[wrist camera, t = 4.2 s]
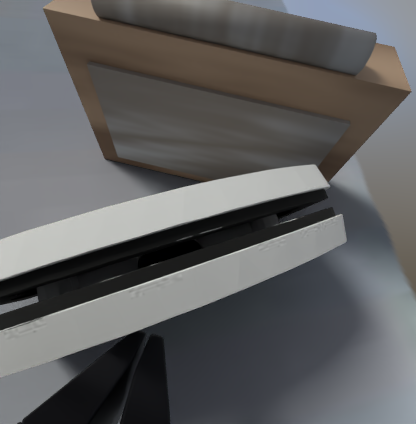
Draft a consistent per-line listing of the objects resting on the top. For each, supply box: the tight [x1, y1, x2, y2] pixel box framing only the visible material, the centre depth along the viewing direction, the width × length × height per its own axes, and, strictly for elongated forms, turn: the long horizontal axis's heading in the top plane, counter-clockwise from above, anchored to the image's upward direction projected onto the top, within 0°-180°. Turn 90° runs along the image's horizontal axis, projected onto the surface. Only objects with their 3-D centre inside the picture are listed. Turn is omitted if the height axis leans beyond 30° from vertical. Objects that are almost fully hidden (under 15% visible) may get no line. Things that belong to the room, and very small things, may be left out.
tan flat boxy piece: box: [43, 0, 411, 182], centre depth 15 cm, size 4×17×11 cm, turn 78°
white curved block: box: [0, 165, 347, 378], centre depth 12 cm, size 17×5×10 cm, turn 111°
